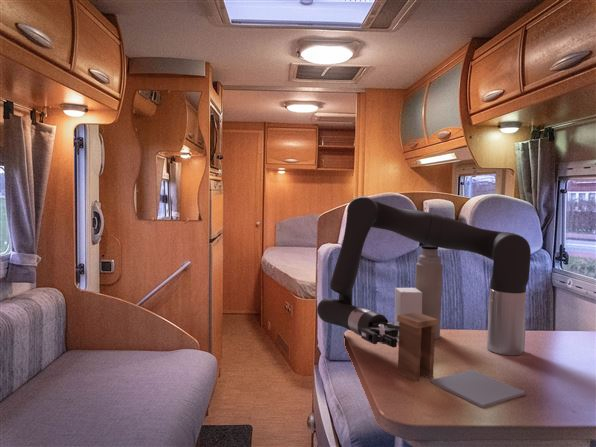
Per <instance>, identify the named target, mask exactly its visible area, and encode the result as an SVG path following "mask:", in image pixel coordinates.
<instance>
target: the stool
mask: <svg viewBox="0 0 596 447" xmlns="http://www.w3.org/2000/svg"><path fill="white" fill-rule="evenodd" d="M397 321H399V322H400V326H399V343H398V355H397V356H398V358H397V360H398V361H397V374H400V375H401V376H403V377H406V378H408V379H410V380H412V381H414V382H419V381H420V375H422V376H424V377H426V378H428V379H431V378H434V366H435V364H434V363H435V362H434V361H435V342H436V341H435V340H436V339H435V325H438V319H436V318H433V317H430V316H426V315H423V314H420V313H410V314H403V315H397Z"/></svg>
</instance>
